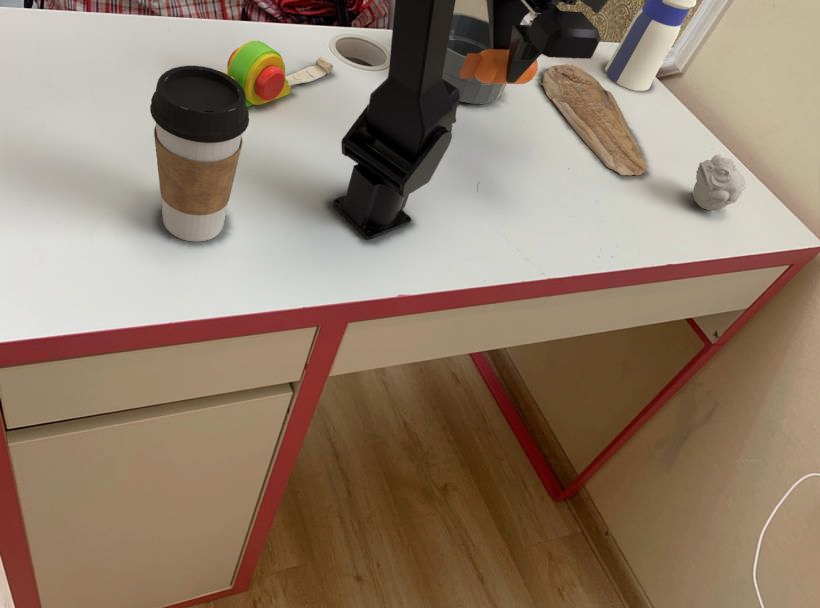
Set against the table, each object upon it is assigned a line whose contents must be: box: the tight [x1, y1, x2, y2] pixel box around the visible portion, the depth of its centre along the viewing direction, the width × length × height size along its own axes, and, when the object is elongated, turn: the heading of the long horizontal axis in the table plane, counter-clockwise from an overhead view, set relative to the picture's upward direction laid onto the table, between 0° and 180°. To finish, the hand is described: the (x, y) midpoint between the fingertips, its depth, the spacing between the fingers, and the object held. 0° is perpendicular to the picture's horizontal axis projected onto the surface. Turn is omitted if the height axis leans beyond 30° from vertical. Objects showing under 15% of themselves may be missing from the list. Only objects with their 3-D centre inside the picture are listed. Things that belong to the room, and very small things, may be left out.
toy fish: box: [459, 49, 539, 85], centre depth 80 cm, size 9×4×4 cm, turn 108°
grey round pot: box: [442, 12, 510, 105], centre depth 98 cm, size 13×13×6 cm
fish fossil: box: [541, 63, 647, 177], centre depth 102 cm, size 26×10×1 cm, turn 18°
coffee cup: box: [149, 65, 250, 243], centre depth 65 cm, size 8×8×15 cm
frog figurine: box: [692, 154, 747, 211], centre depth 91 cm, size 6×7×7 cm
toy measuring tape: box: [222, 40, 334, 107], centre depth 86 cm, size 6×19×7 cm, turn 138°
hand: (503, 72), depth 81 cm, fingers closed on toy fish, 3 cm apart
